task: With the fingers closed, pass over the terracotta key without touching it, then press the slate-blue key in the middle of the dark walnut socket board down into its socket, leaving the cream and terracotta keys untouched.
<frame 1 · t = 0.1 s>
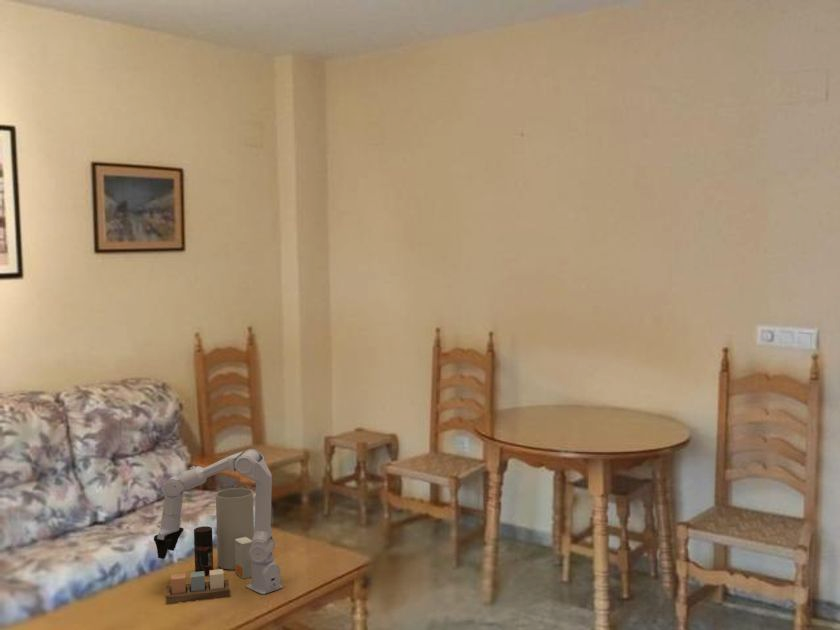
hand: (166, 553, 266), 11 cm above the table, tool pointing down, fingers open, 7 cm apart
skincare box: (244, 575, 275), on the table
terracotta key: (178, 583, 257), point 4 cm above the table, slide at 0.0 cm
cream key: (216, 579, 260), point 4 cm above the table, slide at 0.0 cm
socket board: (198, 595, 259), on the table
slate blue key: (197, 581, 258), point 4 cm above the table, slide at 0.0 cm
deodorant: (204, 573, 277), on the table
cylinder vase: (236, 564, 285), on the table
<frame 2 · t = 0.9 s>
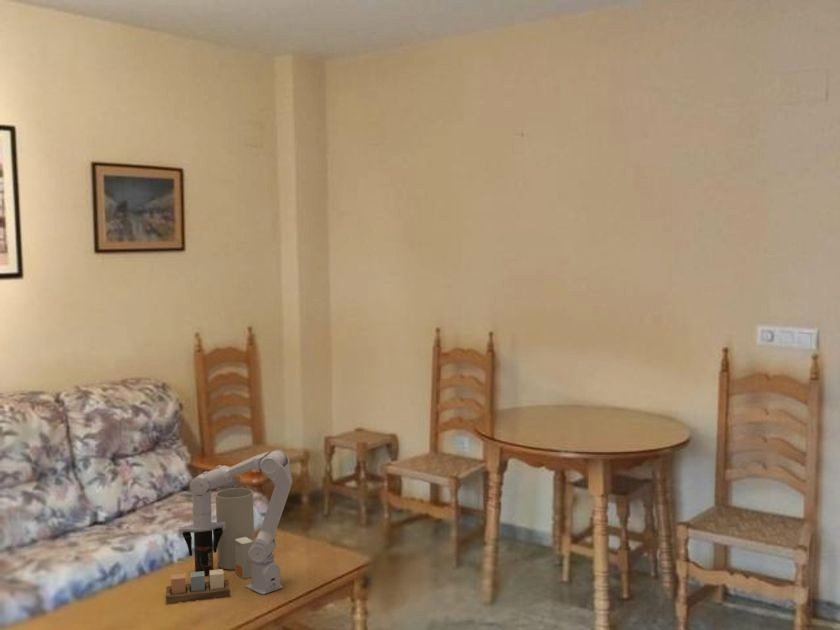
hand: (202, 553, 266), 10 cm above the table, tool pointing down, fingers open, 7 cm apart
nothing on the table moved.
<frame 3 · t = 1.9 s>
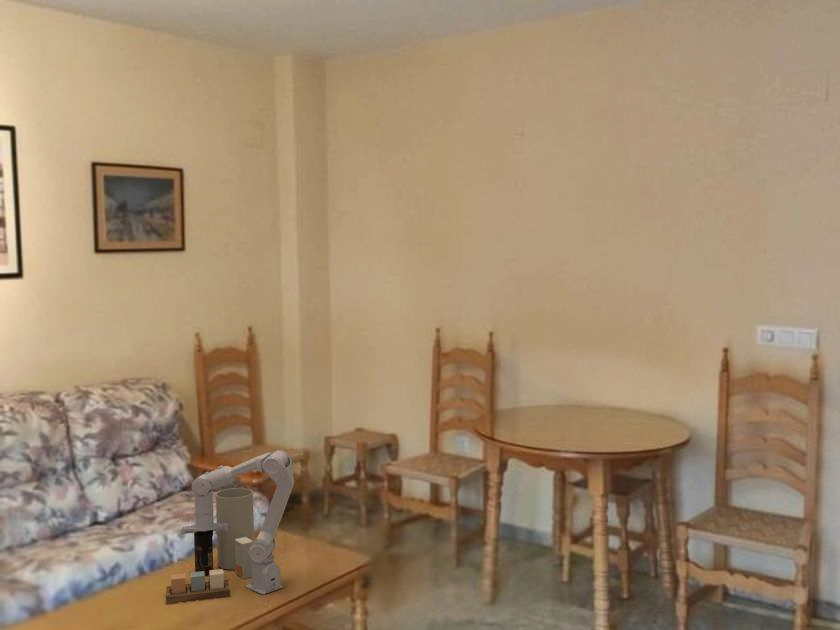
hand: (205, 553, 266), 10 cm above the table, tool pointing down, fingers closed
nothing on the table moved.
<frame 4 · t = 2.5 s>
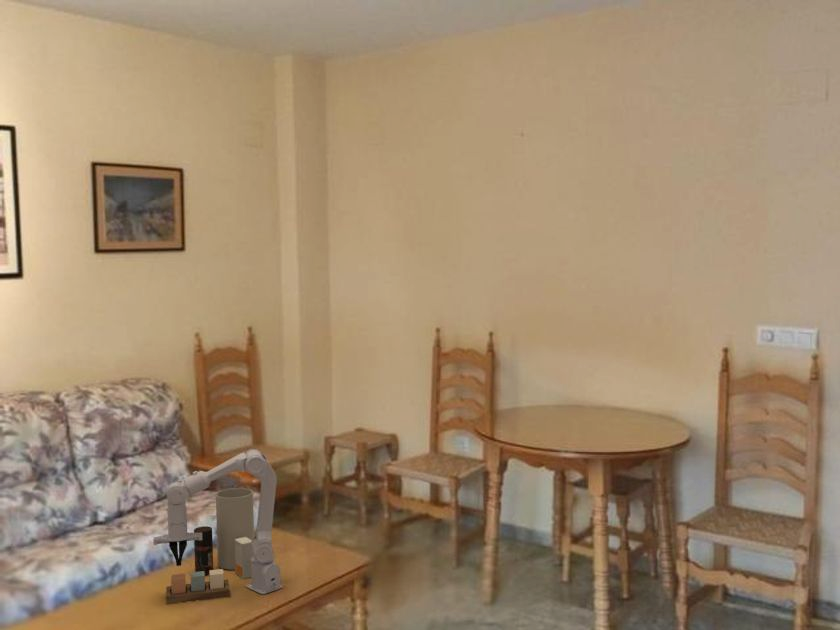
hand: (178, 564, 256), 10 cm above the table, tool pointing down, fingers closed
nothing on the table moved.
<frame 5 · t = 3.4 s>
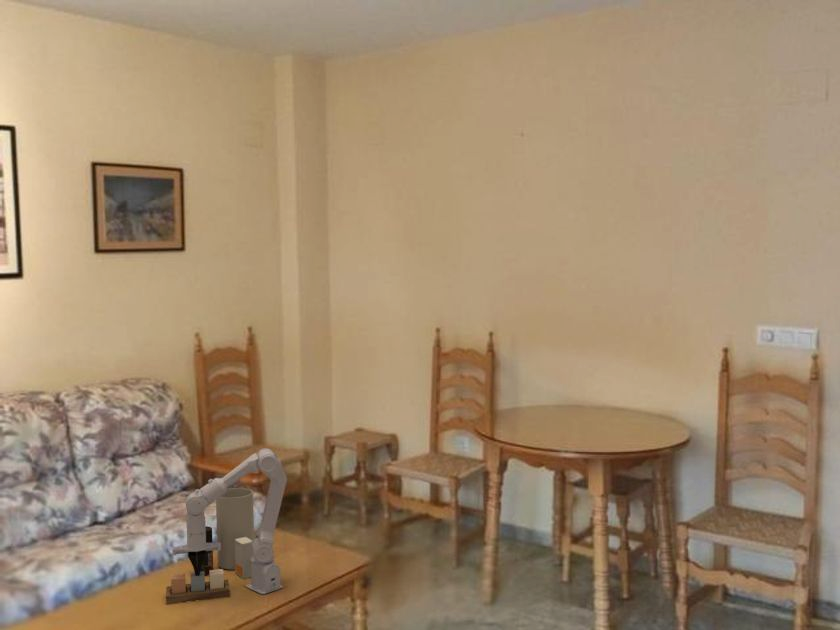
hand: (197, 574, 258), 7 cm above the table, tool pointing down, fingers closed, pressing on slate blue key
slate blue key: (197, 581, 258), point 4 cm above the table, slide at 0.1 cm, touching gripper
everything else where it was.
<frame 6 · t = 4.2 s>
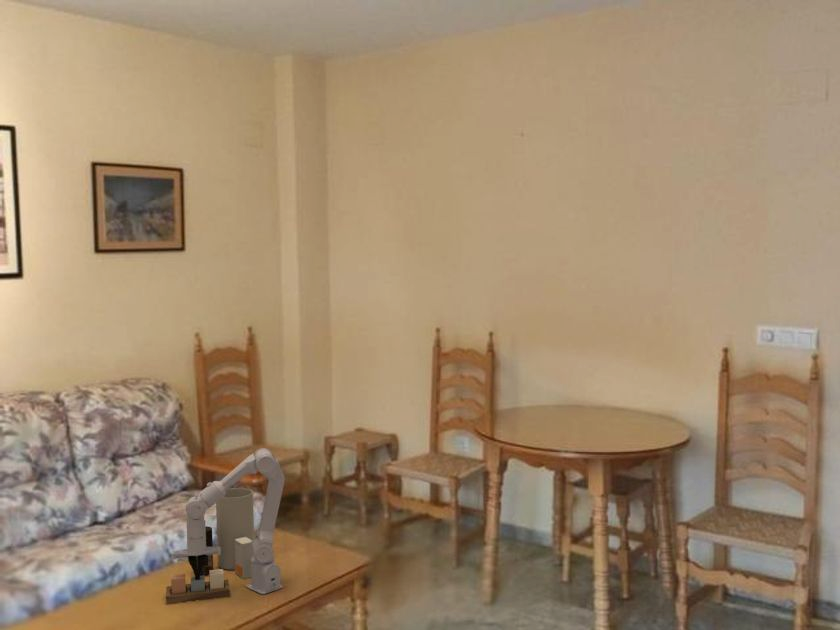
hand: (197, 578, 258), 5 cm above the table, tool pointing down, fingers closed, pressing on slate blue key
slate blue key: (197, 585, 258), point 3 cm above the table, slide at 1.4 cm, touching gripper
everything else where it was.
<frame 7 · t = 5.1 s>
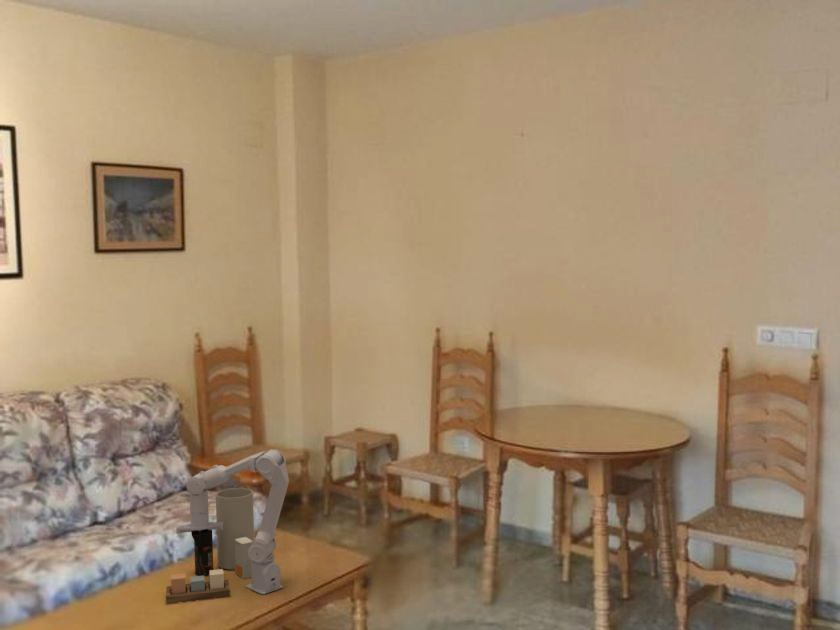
hand: (200, 552, 267), 10 cm above the table, tool pointing down, fingers closed
slate blue key: (197, 585, 258), point 3 cm above the table, slide at 1.4 cm
everything else where it was.
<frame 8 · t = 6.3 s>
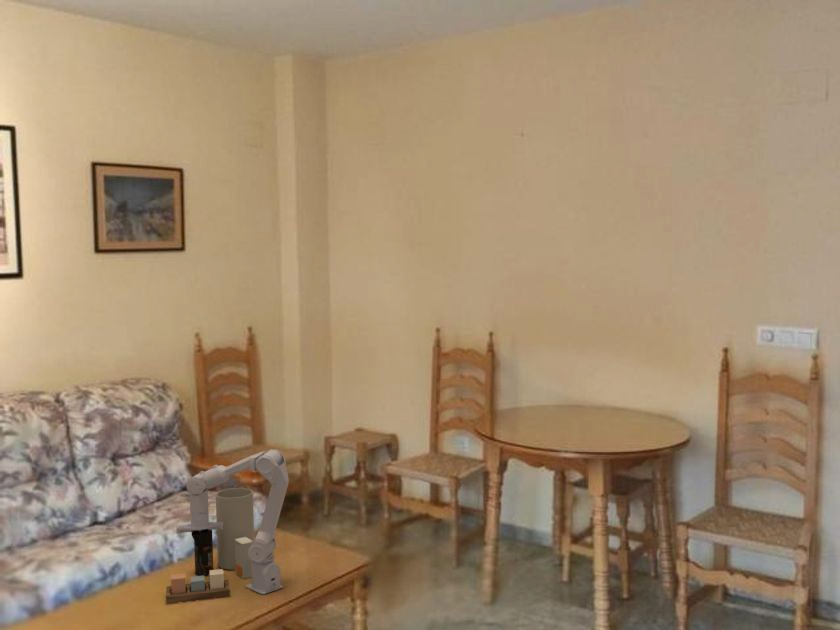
hand: (200, 552, 267), 10 cm above the table, tool pointing down, fingers closed
nothing on the table moved.
at the end: slate blue key slide at 1.4 cm; cream key slide at 0.0 cm; terracotta key slide at 0.0 cm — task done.
